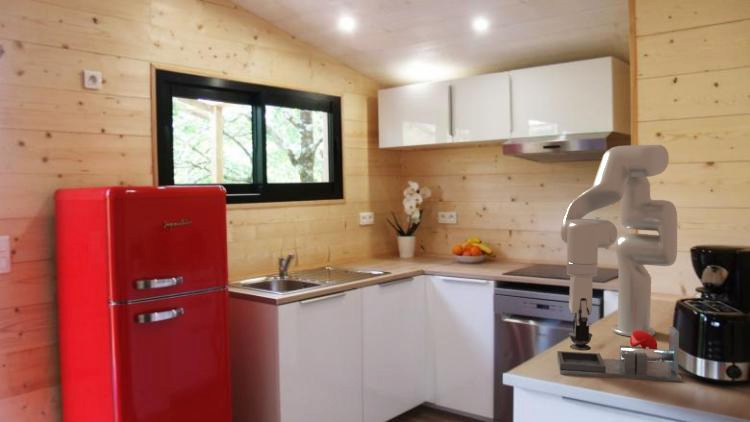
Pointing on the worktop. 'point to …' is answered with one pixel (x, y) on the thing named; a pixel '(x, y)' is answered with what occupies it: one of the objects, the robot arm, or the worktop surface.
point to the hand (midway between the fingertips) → (580, 336)
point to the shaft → (661, 351)
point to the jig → (615, 366)
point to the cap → (643, 340)
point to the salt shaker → (579, 344)
